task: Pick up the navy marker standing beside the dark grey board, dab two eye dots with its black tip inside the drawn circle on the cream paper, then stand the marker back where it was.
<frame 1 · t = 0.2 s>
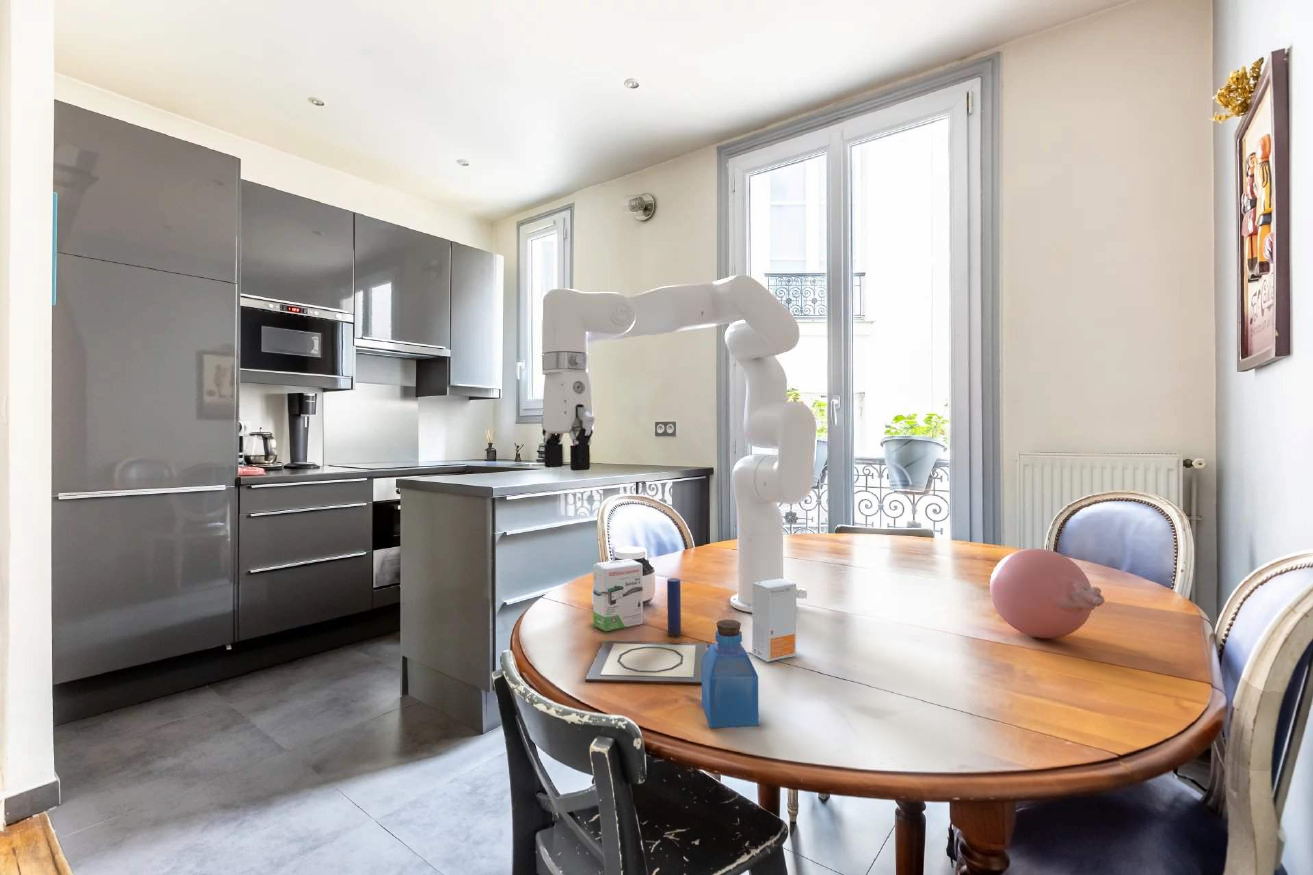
hand: (566, 468, 101), 31 cm above the table, tool pointing down, fingers open, 9 cm apart
marker: (674, 634, 110), on the table
cosmetic box: (774, 656, 99), on the table
perfume bottle: (729, 716, 79), on the table
balloon: (1049, 641, 105), on the table
drawing board: (650, 661, 97), on the table
spread jar: (622, 606, 128), on the table
ink box: (618, 625, 116), on the table
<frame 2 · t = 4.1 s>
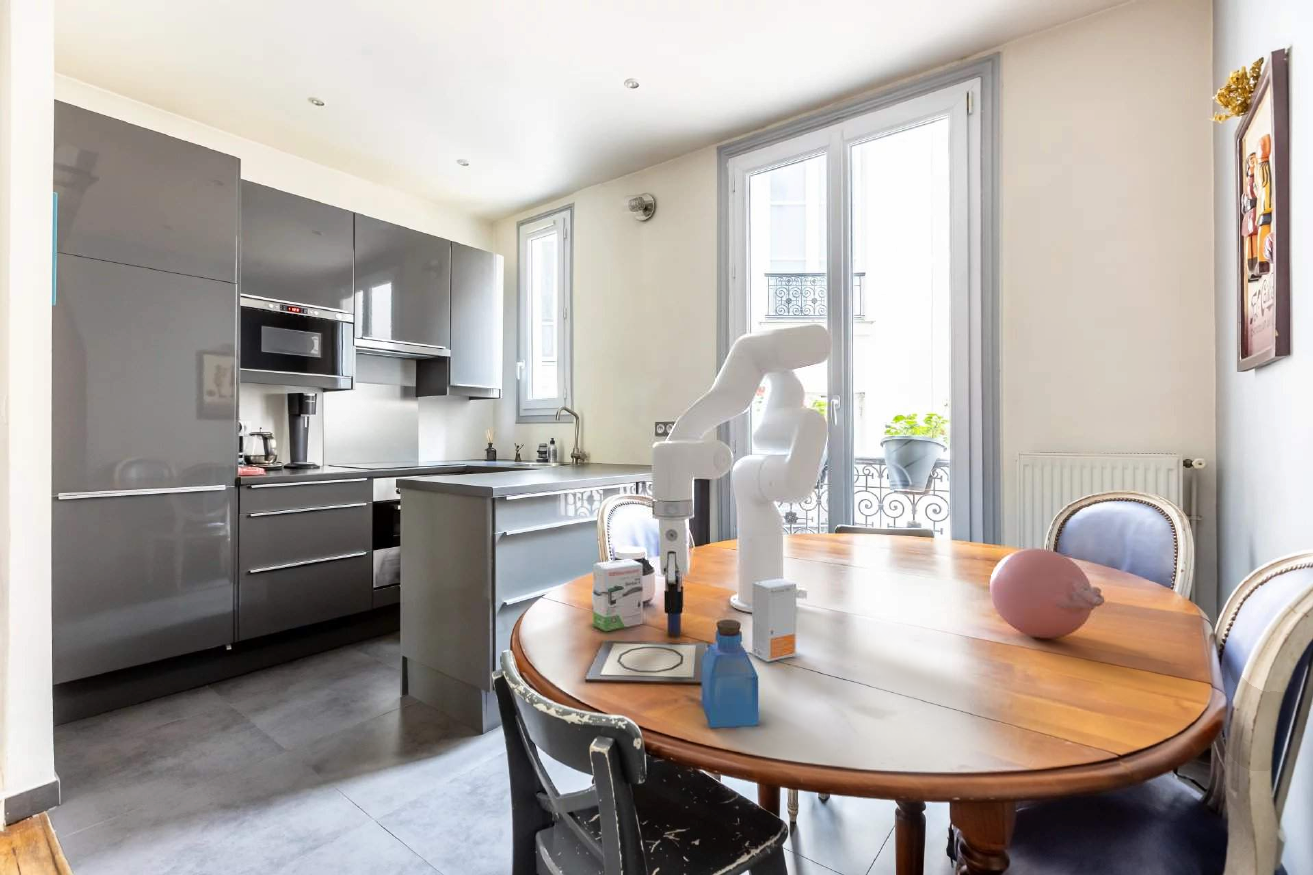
hand: (674, 609, 110), 5 cm above the table, tool pointing down, fingers closed on marker, 2 cm apart
marker: (674, 634, 110), on the table, touching gripper
everything else where it was.
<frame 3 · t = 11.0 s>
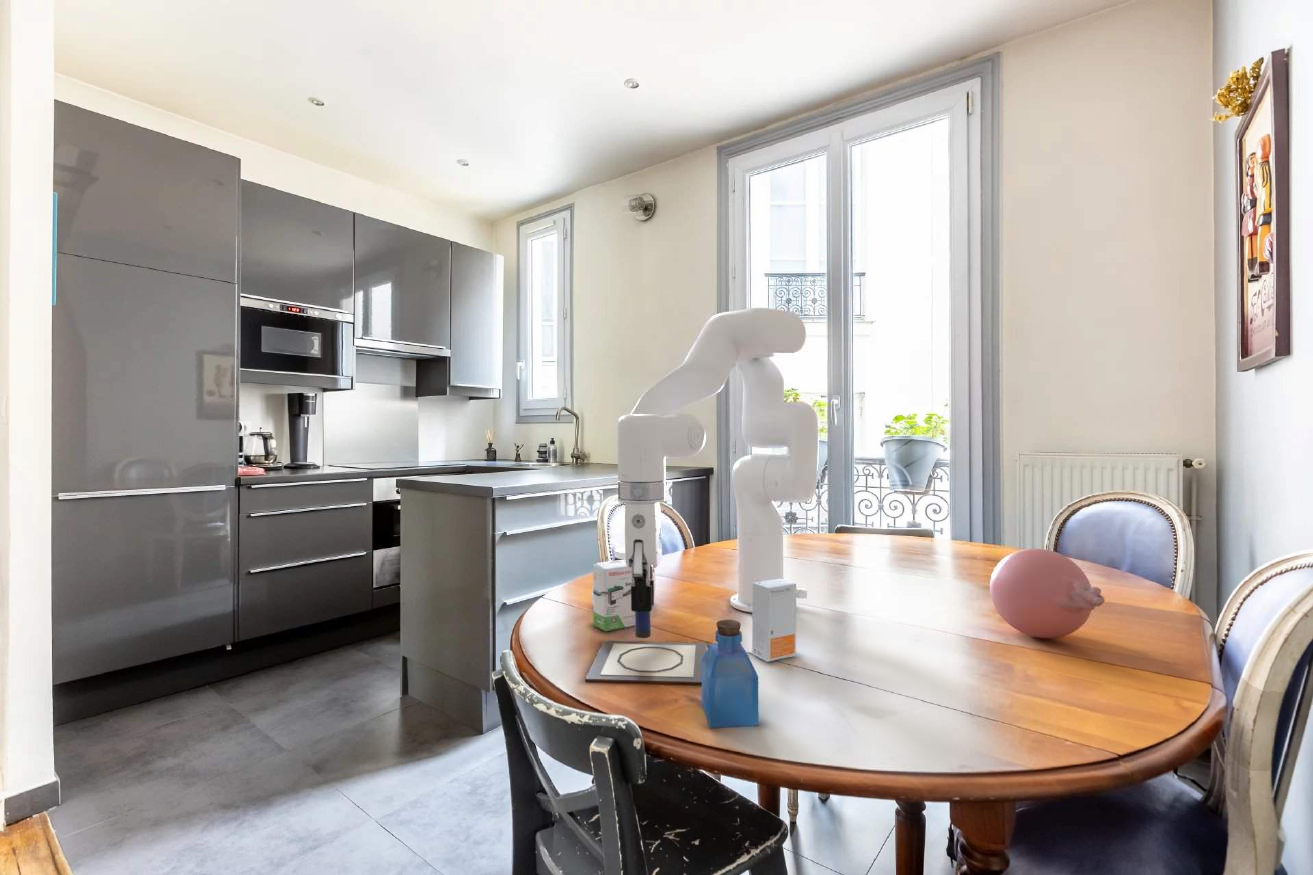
hand: (642, 606, 96), 9 cm above the table, tool pointing down, fingers closed on marker, 2 cm apart
marker: (643, 635, 96), point 5 cm above the table, touching gripper
everything else where it was.
when the fingers open (4 cm above the table, at t = 18.2 s): marker stays where it is, on the table.
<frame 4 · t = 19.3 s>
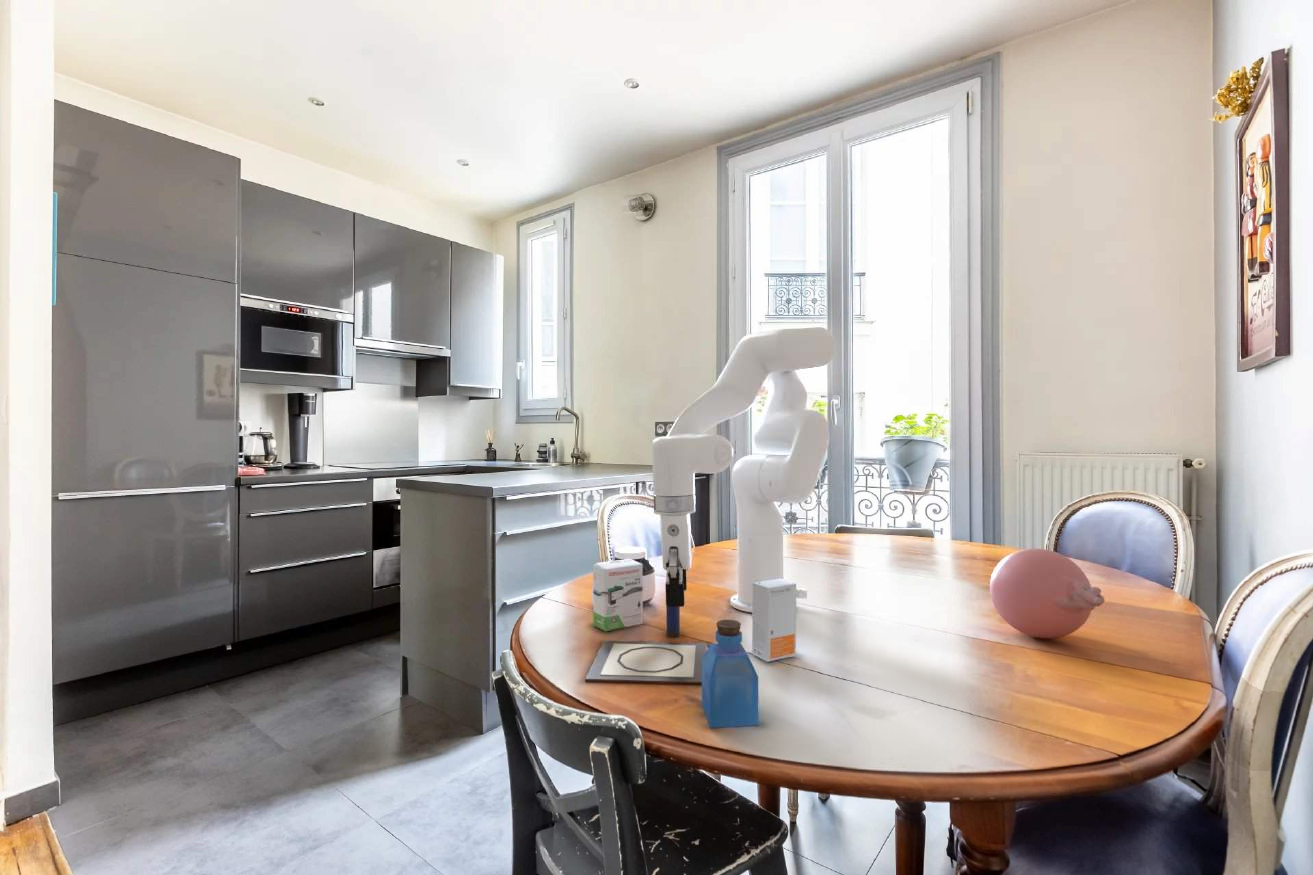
hand: (676, 597, 110), 7 cm above the table, tool pointing down, fingers open, 9 cm apart
marker: (673, 634, 109), on the table
everything else where it was.
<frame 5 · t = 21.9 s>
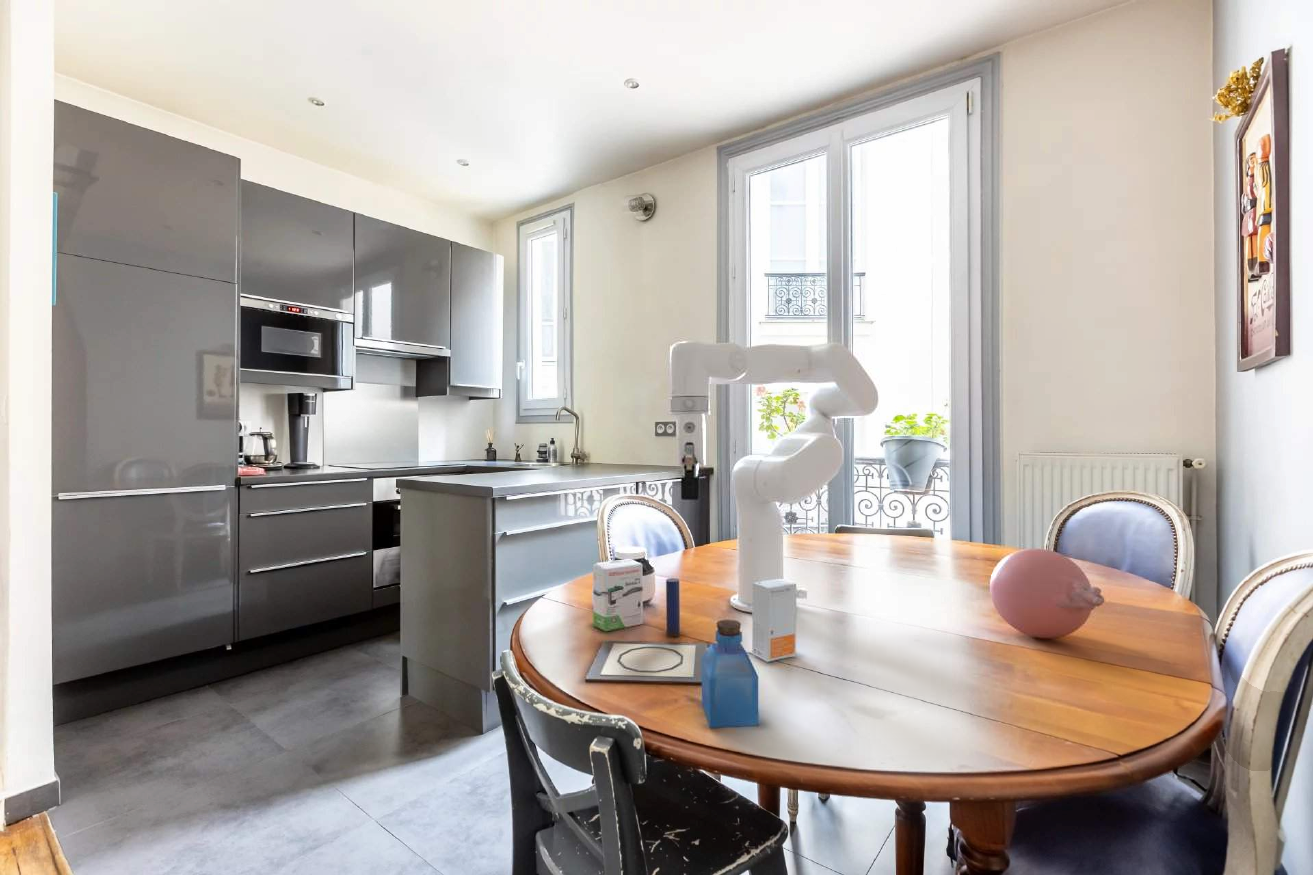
hand: (690, 496, 116), 24 cm above the table, tool pointing down, fingers open, 9 cm apart
nothing on the table moved.
at the end: marker 0.3 cm from the target spot, on the table; marker tilted 0°; the gripper is holding nothing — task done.
